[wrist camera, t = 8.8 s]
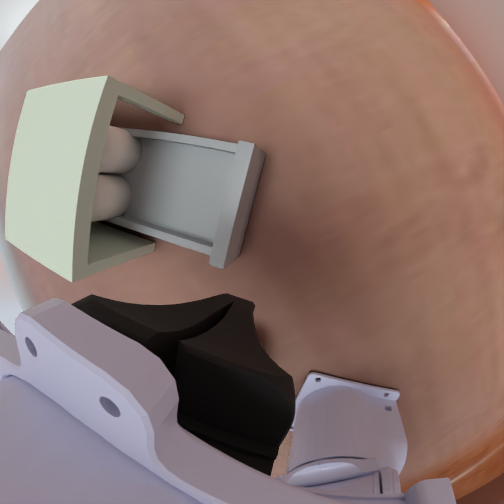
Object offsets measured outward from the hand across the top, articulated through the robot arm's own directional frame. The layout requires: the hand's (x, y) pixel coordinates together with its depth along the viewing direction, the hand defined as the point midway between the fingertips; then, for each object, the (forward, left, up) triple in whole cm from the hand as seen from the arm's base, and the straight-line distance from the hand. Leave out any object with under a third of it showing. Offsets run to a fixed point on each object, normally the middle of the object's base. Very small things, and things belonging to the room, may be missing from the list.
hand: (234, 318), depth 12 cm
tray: (+10, -4, -10) cm, 15 cm away
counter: (+15, -4, -10) cm, 18 cm away
